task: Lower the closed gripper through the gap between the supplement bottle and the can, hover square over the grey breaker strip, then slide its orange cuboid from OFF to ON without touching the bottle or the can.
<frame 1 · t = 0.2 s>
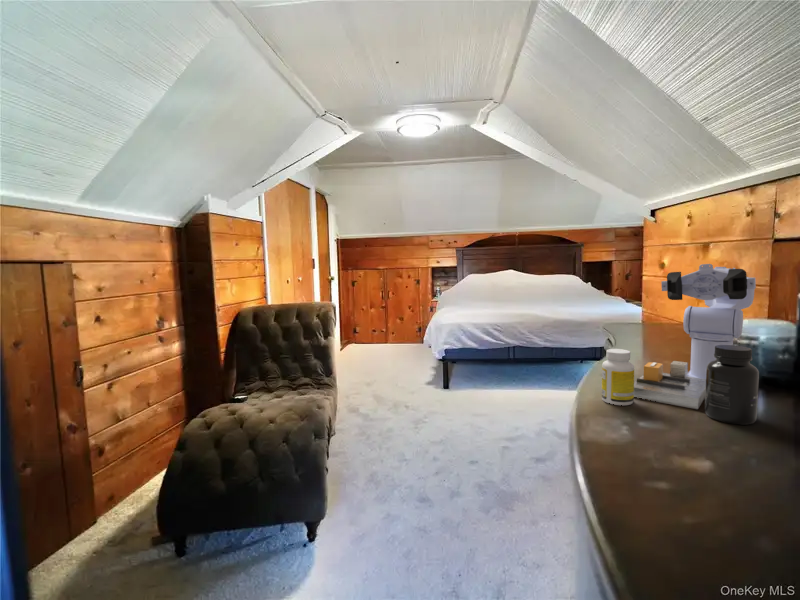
hand: (698, 286, 74), 22 cm above the counter, tool horizontal, fingers open, 7 cm apart
orange cuboid: (653, 371, 83), point 4 cm above the counter, slide at 0.0 cm
breaker strip: (670, 392, 81), on the counter
supplement bottle 2: (617, 402, 78), on the counter
supplement bottle: (729, 418, 69), on the counter
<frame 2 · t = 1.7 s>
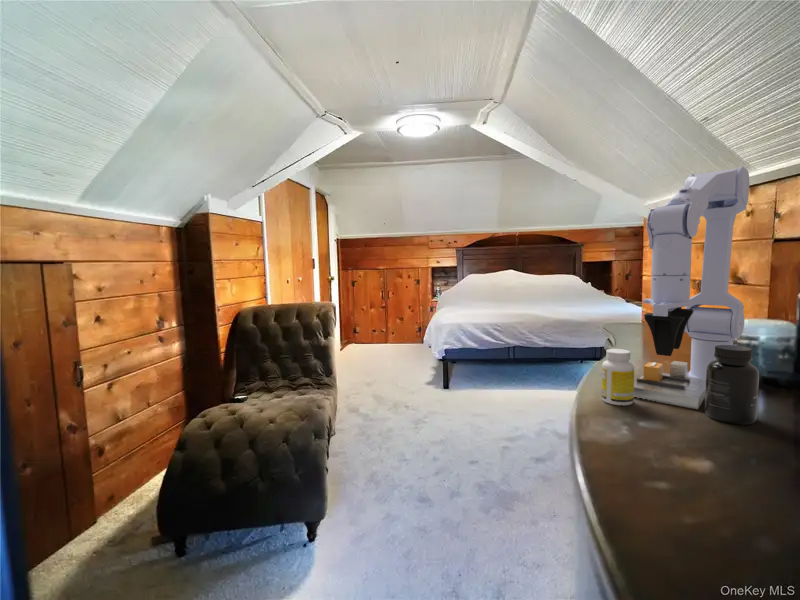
hand: (668, 351, 73), 10 cm above the counter, tool pointing down, fingers open, 6 cm apart
nothing on the counter moved.
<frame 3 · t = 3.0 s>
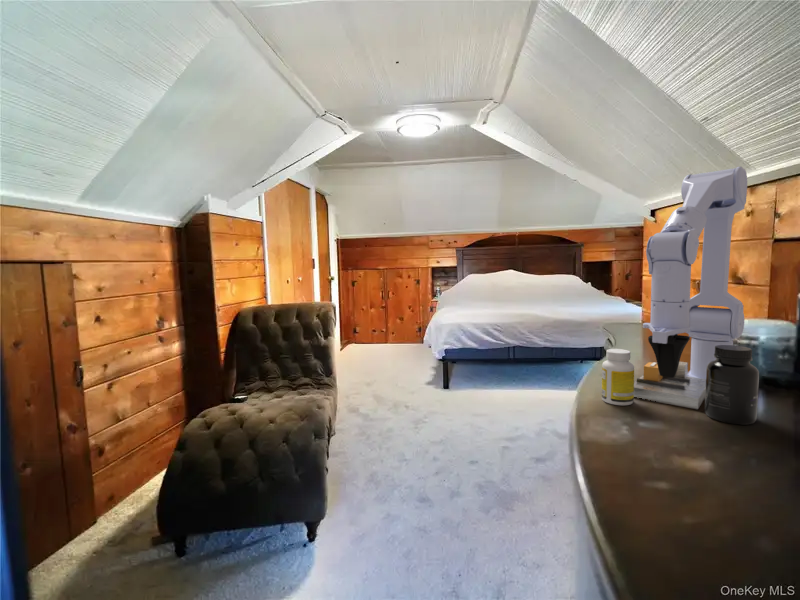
hand: (667, 375, 73), 6 cm above the counter, tool pointing down, fingers closed
nothing on the counter moved.
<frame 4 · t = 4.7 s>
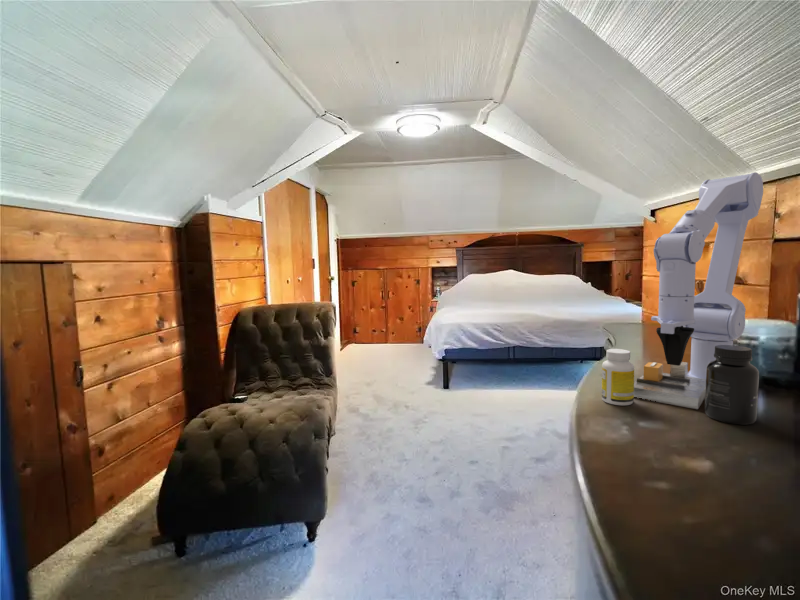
hand: (674, 364, 80), 6 cm above the counter, tool pointing down, fingers closed
nothing on the counter moved.
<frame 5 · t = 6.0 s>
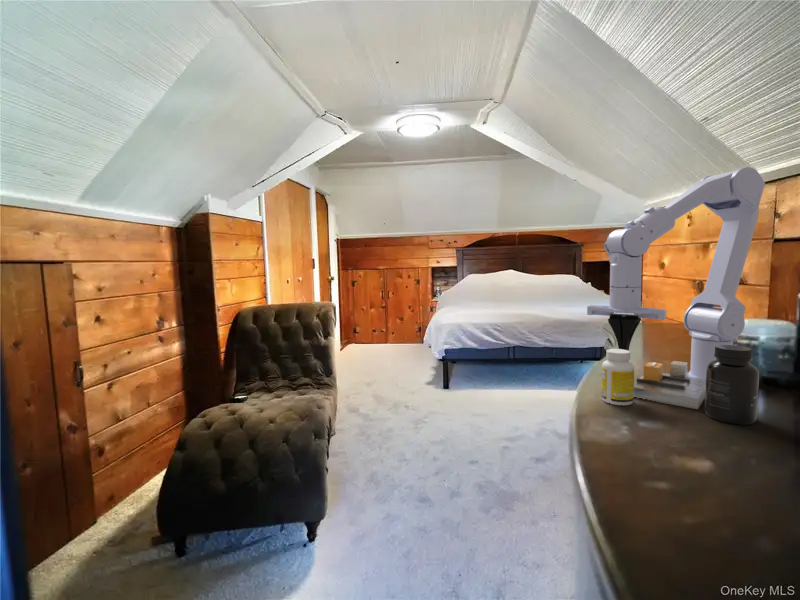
hand: (623, 350, 86), 7 cm above the counter, tool pointing down, fingers closed
nothing on the counter moved.
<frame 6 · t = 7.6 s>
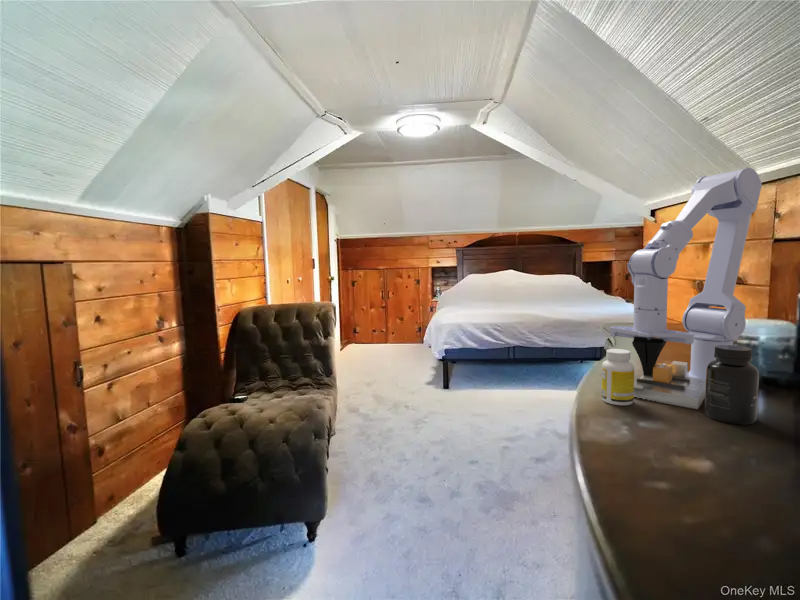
hand: (648, 374, 84), 3 cm above the counter, tool pointing down, fingers closed
orange cuboid: (662, 373, 82), point 4 cm above the counter, slide at 1.6 cm, touching gripper
everything else where it was.
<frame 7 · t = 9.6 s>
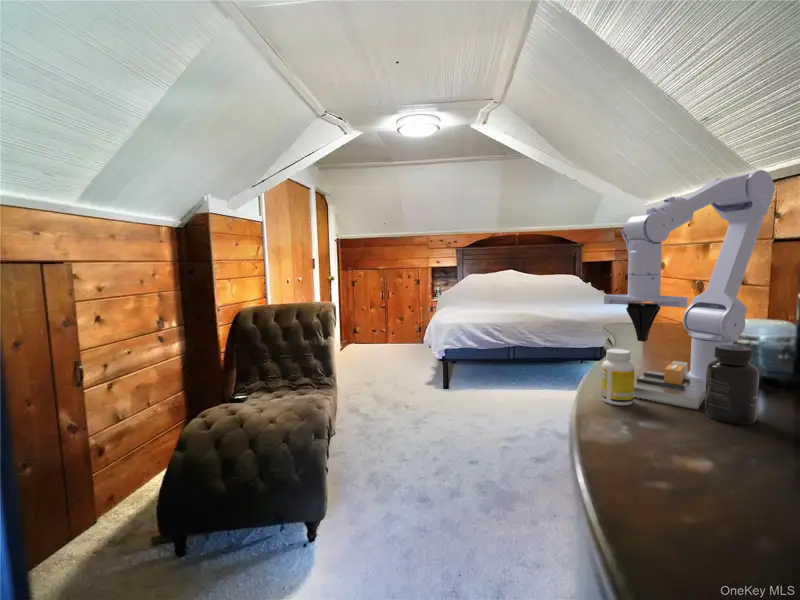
hand: (642, 340, 84), 10 cm above the counter, tool pointing down, fingers closed
orange cuboid: (674, 374, 81), point 4 cm above the counter, slide at 3.6 cm
everything else where it was.
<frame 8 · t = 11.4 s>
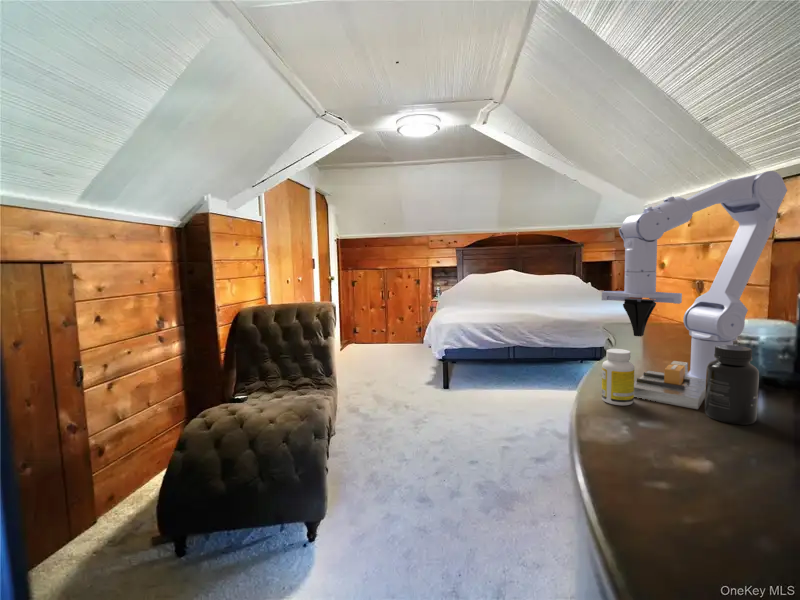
hand: (638, 335, 87), 10 cm above the counter, tool pointing down, fingers closed
nothing on the counter moved.
at the end: orange cuboid slide at 3.6 cm; supplement bottle moved 0.2 cm from its start; supplement bottle 2 moved 0.2 cm from its start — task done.
